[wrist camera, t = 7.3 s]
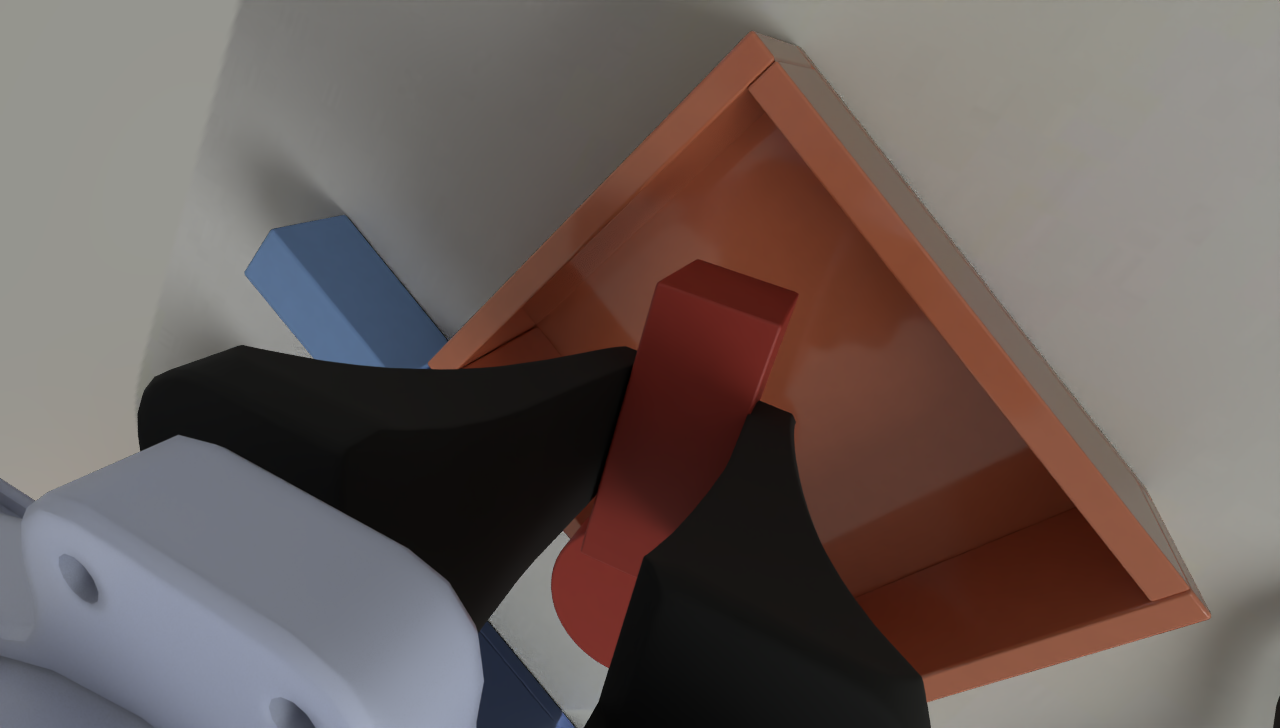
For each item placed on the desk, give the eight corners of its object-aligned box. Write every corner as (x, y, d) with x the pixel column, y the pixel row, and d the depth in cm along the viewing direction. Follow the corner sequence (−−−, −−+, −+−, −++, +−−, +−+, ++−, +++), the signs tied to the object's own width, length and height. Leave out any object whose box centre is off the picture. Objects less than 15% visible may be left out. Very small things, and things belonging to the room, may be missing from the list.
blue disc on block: (306, 269, 21) (231, 290, 19) (358, 195, 19) (282, 208, 17) (481, 484, 22) (428, 528, 19) (549, 431, 20) (499, 473, 17)
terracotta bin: (520, 314, 19) (425, 364, 15) (799, 45, 14) (751, 28, 10) (782, 637, 19) (746, 757, 16) (1148, 491, 14) (1214, 619, 10)
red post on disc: (657, 244, 13) (608, 264, 10) (843, 307, 12) (836, 344, 10) (557, 600, 16) (503, 678, 13) (699, 667, 15) (668, 762, 13)
